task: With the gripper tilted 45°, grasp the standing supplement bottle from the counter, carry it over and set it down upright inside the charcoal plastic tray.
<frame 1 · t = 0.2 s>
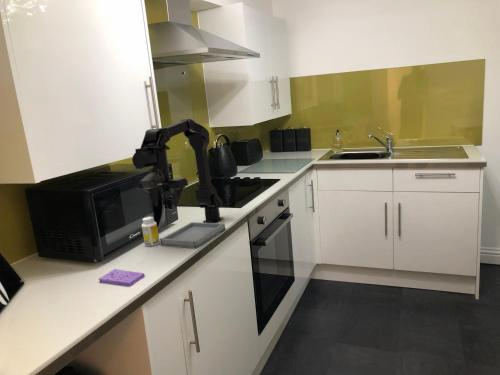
hand: (166, 206, 150), 15 cm above the counter, tool pointing down, fingers open, 9 cm apart
sponges: (122, 281, 127), on the counter
tray: (194, 237, 158), on the counter
supplement bottle: (152, 244, 156), on the counter
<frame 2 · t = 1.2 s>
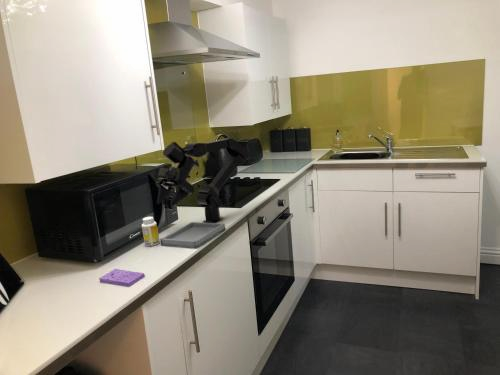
hand: (164, 204, 159), 13 cm above the counter, tool tilted 45°, fingers open, 9 cm apart
nothing on the counter moved.
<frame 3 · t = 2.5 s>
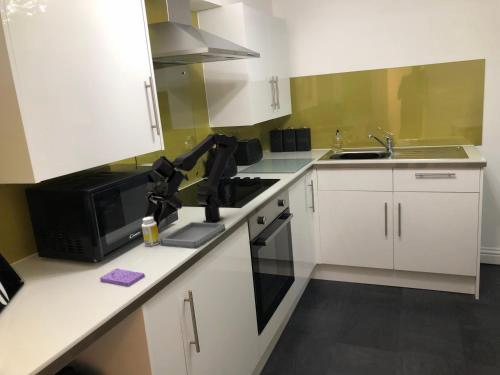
hand: (152, 219, 155), 9 cm above the counter, tool tilted 45°, fingers open, 9 cm apart
nothing on the counter moved.
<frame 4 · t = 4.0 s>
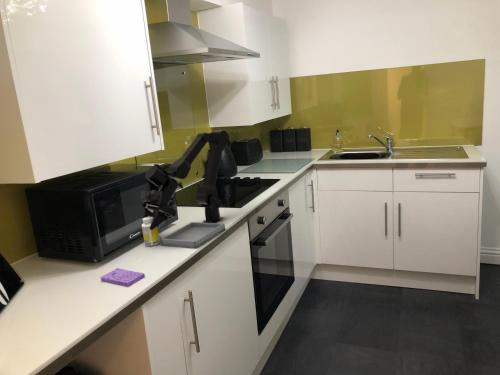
hand: (146, 228, 154), 7 cm above the counter, tool tilted 45°, fingers closed on supplement bottle, 5 cm apart
supplement bottle: (152, 244, 156), on the counter, touching gripper
everything else where it was.
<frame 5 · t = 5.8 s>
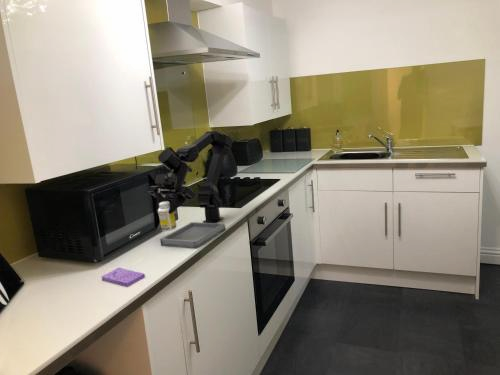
hand: (163, 213, 151), 12 cm above the counter, tool tilted 45°, fingers closed on supplement bottle, 5 cm apart
supplement bottle: (169, 229, 153), point 5 cm above the counter, touching gripper
everything else where it was.
when the fingers open (9 cm above the counter, at t = 7.6 s): supplement bottle drops 1 cm, resting on tray.
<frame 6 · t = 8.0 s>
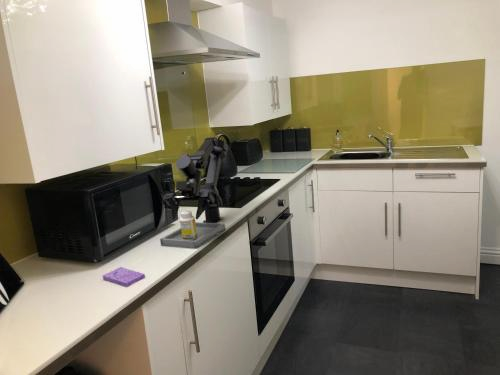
hand: (184, 219, 151), 9 cm above the counter, tool tilted 45°, fingers open, 9 cm apart
supplement bottle: (190, 239, 154), point 1 cm above the counter, touching tray
everything else where it was.
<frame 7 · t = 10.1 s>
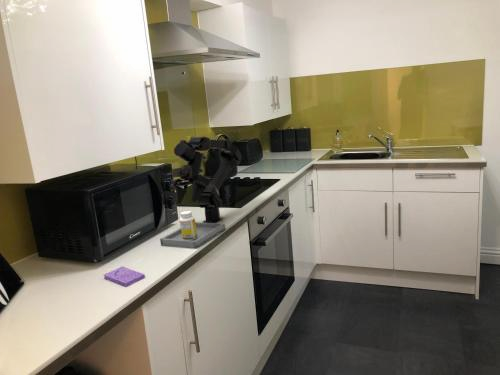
hand: (185, 203, 160), 13 cm above the counter, tool tilted 35°, fingers open, 9 cm apart
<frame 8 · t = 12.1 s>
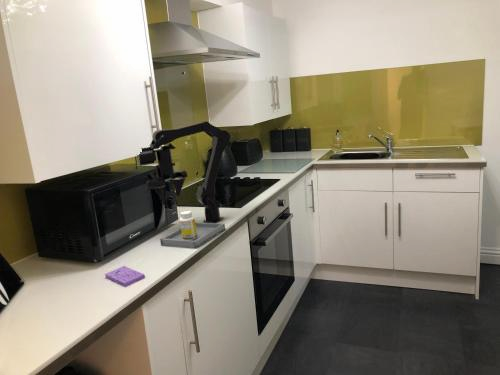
hand: (171, 199, 168), 13 cm above the counter, tool pointing down, fingers open, 9 cm apart
at the end: supplement bottle inside the target area on the tray (4.0 cm from its centre), point 0.8 cm above the tray's base; supplement bottle tilted 0°; the gripper is holding nothing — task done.
